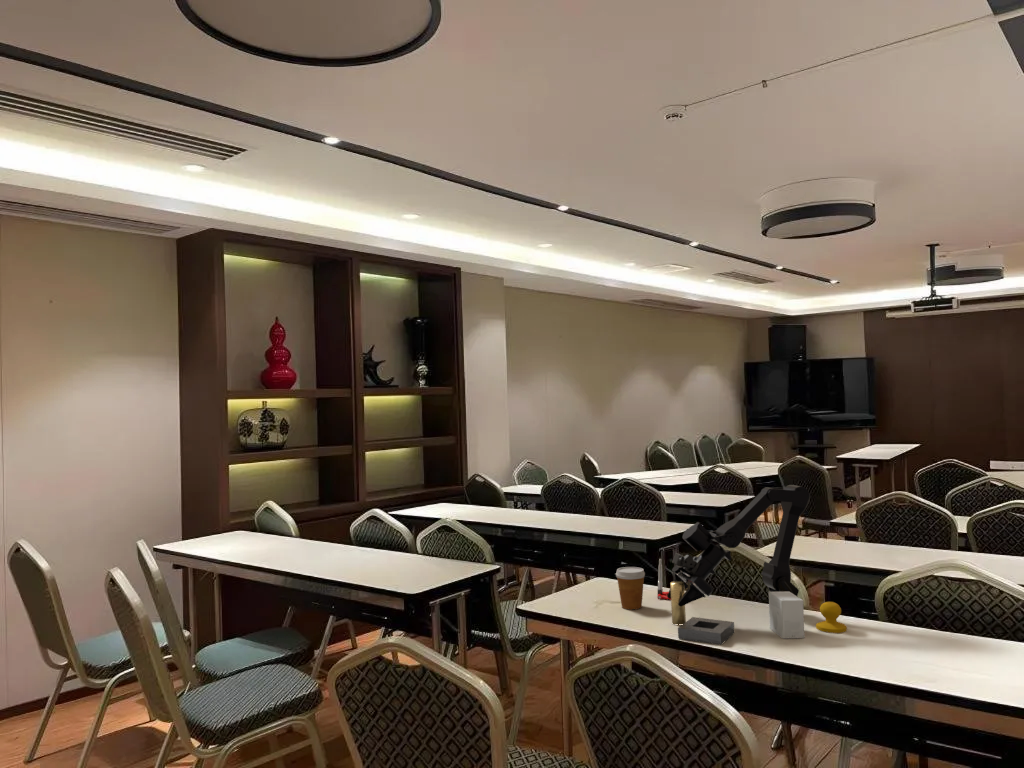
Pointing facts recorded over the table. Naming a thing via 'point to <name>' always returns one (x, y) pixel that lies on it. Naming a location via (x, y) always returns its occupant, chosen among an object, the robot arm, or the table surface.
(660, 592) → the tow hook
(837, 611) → the doorknob
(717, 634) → the block
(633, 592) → the disposable coffee cup
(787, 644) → the table surface
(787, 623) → the skincare box
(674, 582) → the brass pin
